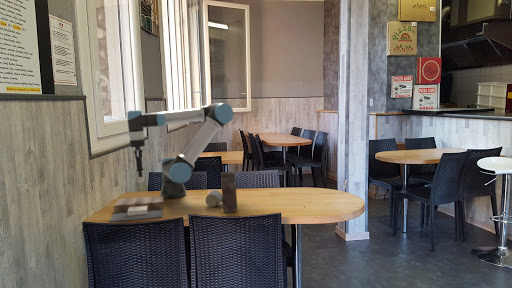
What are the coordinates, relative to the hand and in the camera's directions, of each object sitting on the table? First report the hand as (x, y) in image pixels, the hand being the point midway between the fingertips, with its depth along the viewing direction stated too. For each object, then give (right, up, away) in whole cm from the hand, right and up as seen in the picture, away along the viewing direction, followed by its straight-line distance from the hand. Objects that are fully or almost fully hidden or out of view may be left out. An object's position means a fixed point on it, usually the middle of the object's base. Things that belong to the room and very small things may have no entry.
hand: (141, 182), depth 196 cm
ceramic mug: (+41, -12, -3) cm, 43 cm away
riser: (+1, -13, -4) cm, 14 cm away
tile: (+3, -14, -15) cm, 20 cm away
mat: (+4, -14, -18) cm, 24 cm away
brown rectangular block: (+49, -13, -15) cm, 53 cm away
